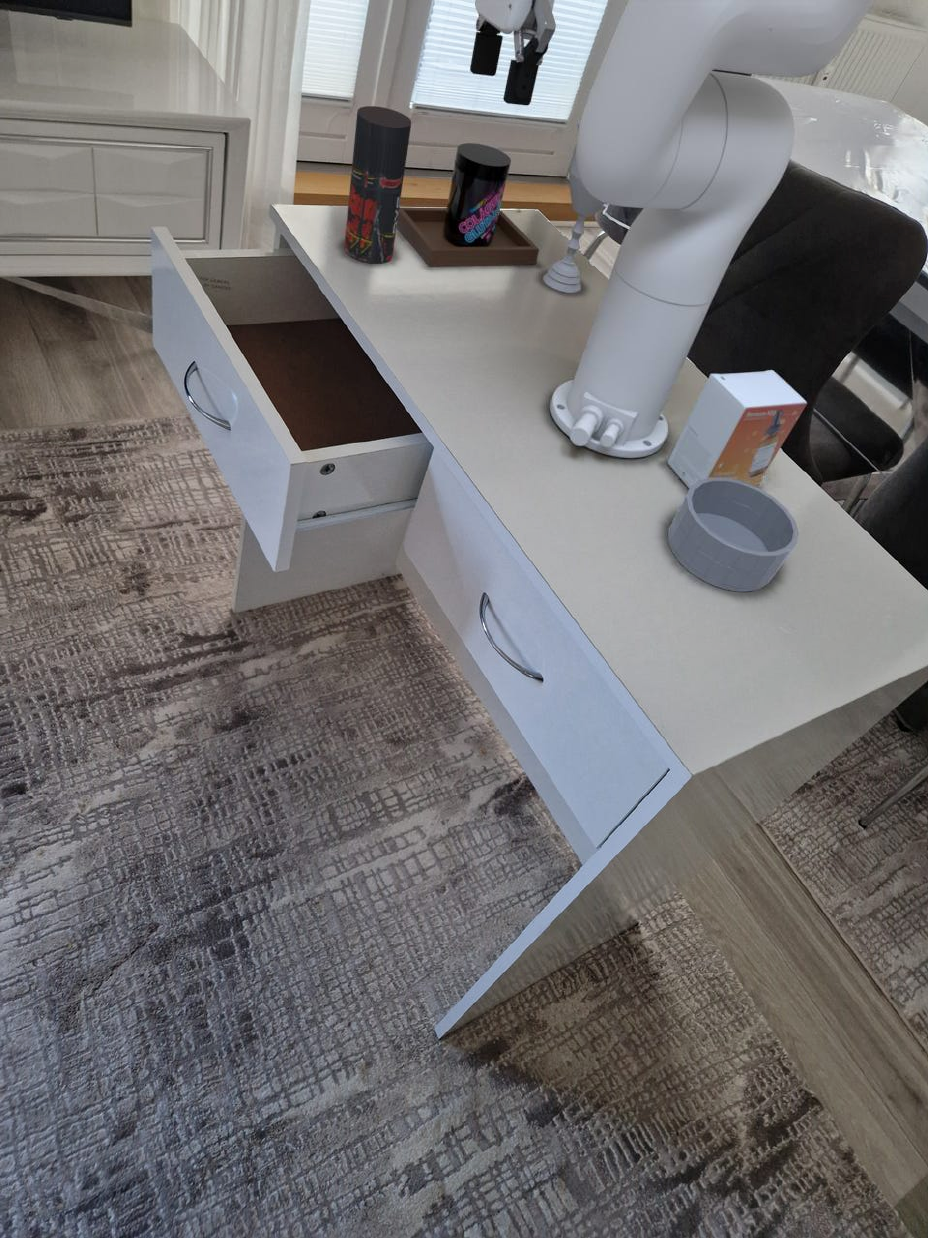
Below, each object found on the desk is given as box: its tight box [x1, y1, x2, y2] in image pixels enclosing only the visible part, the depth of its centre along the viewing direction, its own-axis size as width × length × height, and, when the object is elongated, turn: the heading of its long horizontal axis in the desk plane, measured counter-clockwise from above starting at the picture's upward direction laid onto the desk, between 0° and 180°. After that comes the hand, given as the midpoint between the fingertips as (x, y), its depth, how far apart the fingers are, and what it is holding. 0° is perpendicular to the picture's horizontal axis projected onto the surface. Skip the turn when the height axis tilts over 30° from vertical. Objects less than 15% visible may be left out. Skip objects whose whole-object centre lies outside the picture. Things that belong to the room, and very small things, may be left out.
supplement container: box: [443, 142, 512, 247], centre depth 103 cm, size 7×7×10 cm
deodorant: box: [343, 105, 412, 265], centre depth 94 cm, size 6×6×15 cm
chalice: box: [542, 118, 606, 294], centre depth 99 cm, size 7×7×18 cm
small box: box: [667, 369, 808, 489], centre depth 79 cm, size 8×6×10 cm
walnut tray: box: [396, 206, 540, 268], centre depth 106 cm, size 16×12×2 cm
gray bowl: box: [667, 477, 800, 593], centre depth 73 cm, size 10×10×4 cm
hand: (498, 88), depth 93 cm, fingers open, 9 cm apart
